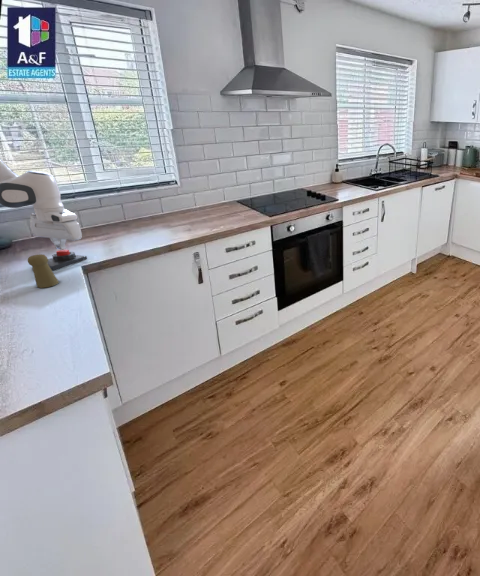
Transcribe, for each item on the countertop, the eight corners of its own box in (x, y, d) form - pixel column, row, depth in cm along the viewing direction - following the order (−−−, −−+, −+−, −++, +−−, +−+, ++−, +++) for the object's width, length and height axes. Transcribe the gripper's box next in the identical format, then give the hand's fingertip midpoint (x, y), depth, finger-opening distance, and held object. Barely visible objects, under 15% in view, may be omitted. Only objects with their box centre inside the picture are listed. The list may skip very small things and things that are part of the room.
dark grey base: (54, 274, 142) (50, 261, 140) (33, 271, 144) (29, 259, 142) (88, 263, 155) (85, 251, 153) (68, 260, 156) (65, 249, 155)
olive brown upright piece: (46, 288, 129) (34, 259, 124) (32, 287, 130) (19, 257, 125) (63, 281, 134) (51, 253, 130) (49, 280, 135) (37, 252, 131)
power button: (62, 256, 147) (61, 252, 146) (54, 256, 148) (53, 251, 147) (72, 254, 151) (71, 250, 150) (64, 253, 151) (63, 249, 151)
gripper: (20, 213, 142) (31, 248, 147) (64, 218, 138) (74, 253, 144) (38, 211, 148) (48, 244, 153) (80, 215, 144) (89, 249, 149)
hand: (61, 248), depth 148 cm, fingers closed
